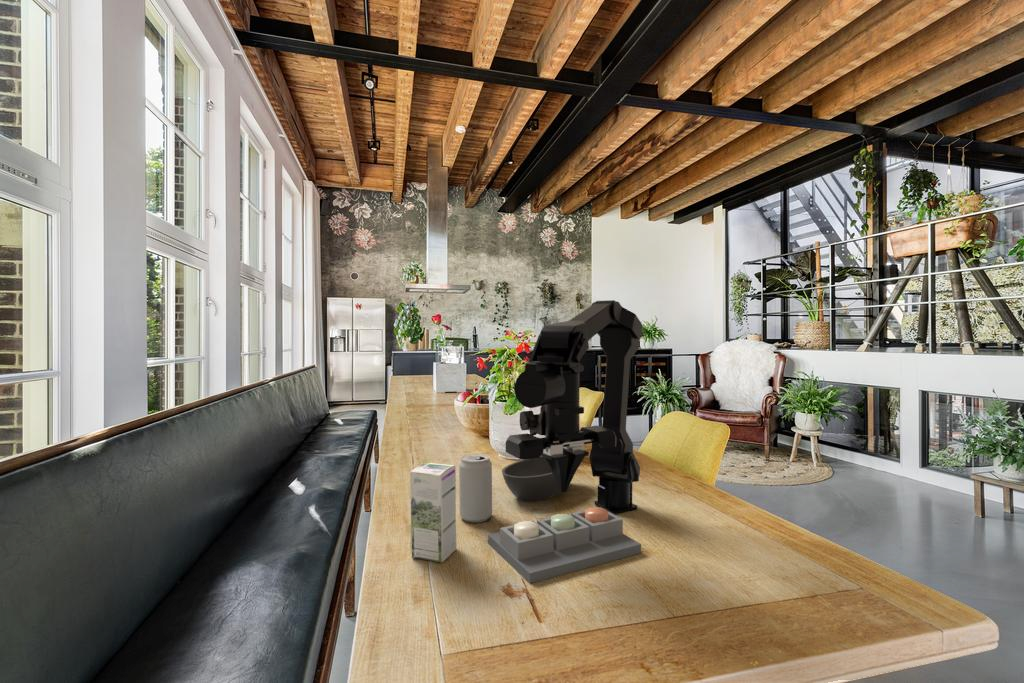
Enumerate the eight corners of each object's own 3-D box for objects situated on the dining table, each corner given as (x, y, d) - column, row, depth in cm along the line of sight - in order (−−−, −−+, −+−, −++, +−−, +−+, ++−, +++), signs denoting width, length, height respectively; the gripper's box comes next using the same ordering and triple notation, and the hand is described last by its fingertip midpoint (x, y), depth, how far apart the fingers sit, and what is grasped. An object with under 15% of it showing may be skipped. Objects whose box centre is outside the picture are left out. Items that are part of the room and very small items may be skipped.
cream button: (531, 538, 83) (531, 519, 83) (543, 548, 80) (543, 528, 79) (509, 543, 81) (509, 524, 81) (521, 553, 78) (521, 533, 78)
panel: (587, 521, 95) (587, 499, 95) (641, 553, 82) (641, 527, 82) (488, 543, 86) (487, 519, 85) (529, 583, 72) (529, 555, 72)
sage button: (566, 530, 86) (566, 512, 86) (579, 539, 83) (579, 520, 83) (546, 535, 84) (546, 516, 84) (559, 544, 81) (559, 524, 81)
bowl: (592, 486, 115) (592, 460, 115) (528, 512, 100) (528, 482, 99) (552, 475, 124) (552, 451, 124) (487, 498, 108) (487, 469, 108)
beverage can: (487, 525, 93) (487, 462, 93) (455, 522, 94) (454, 460, 94) (495, 512, 99) (495, 453, 99) (464, 510, 101) (464, 452, 100)
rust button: (598, 523, 89) (598, 505, 89) (612, 531, 86) (612, 513, 86) (580, 527, 88) (580, 509, 87) (593, 535, 84) (594, 517, 84)
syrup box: (457, 548, 84) (457, 463, 83) (441, 564, 78) (440, 473, 78) (427, 543, 85) (426, 460, 85) (409, 559, 80) (408, 470, 79)
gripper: (580, 391, 94) (580, 472, 94) (491, 397, 86) (491, 486, 86) (618, 398, 84) (618, 489, 85) (521, 406, 76) (521, 507, 76)
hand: (562, 492), depth 83 cm, fingers closed
